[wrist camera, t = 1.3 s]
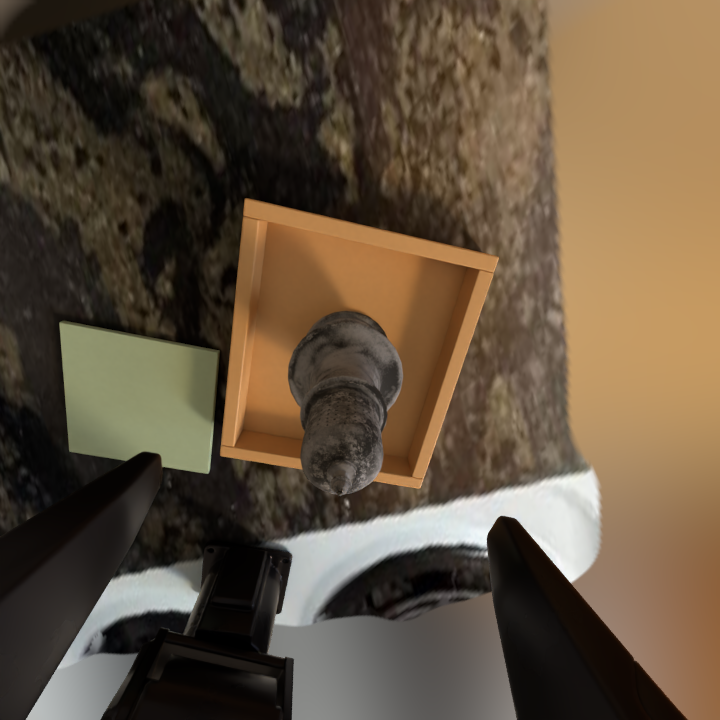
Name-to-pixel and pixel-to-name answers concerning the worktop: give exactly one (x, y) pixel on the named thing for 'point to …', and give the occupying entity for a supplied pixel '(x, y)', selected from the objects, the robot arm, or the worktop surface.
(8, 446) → the worktop surface
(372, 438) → the stone finial
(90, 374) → the mat
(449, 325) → the tray
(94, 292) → the worktop surface
